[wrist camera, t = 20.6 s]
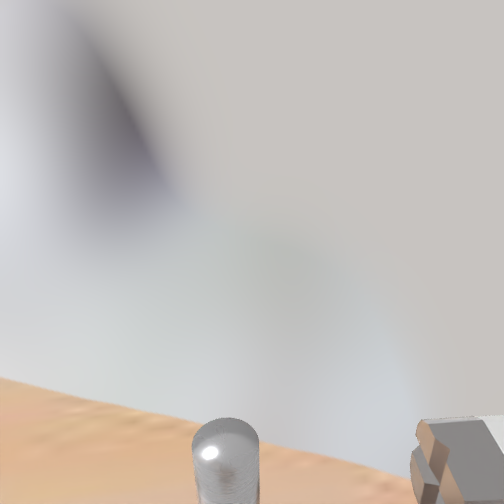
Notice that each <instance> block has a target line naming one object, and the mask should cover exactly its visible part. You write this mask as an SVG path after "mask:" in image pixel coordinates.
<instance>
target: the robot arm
mask: <svg viewBox="0 0 504 504" xmlns="http://www.w3.org/2000/svg"><path fill="white" fill-rule="evenodd" d="M416 437H417V439H418V442H419V444H420V445H419V446H418V447H417V448H416V449H415V450H414V451H412V455H411V462H410V471H411V481H412V486H413V490H414V493H415V496H416V499H417V502H418V504H504V415H497V416H478V417H474V416H471V417H456V418H440V419H424V420H421V421H420V422H419V423H418V426H417V430H416Z"/></svg>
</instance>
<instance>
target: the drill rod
mask: <svg viewBox="0 0 504 504" xmlns="http://www.w3.org/2000/svg"><path fill="white" fill-rule="evenodd" d="M192 455H193V464H194V473H195V482H196V492H197V501H198V504H260V483H259V439H258V435H257V434H256V432H255V430H254V429H253V428H252V427H251V426H250V425H249V424H248V423H246V422H244V421H242V420H239V419H235V418H220V419H216V420H213V421H210V422H208V423H207V424H205V425H204V426H202V427H201V428H200V429H199V430H198V431H197V433H196V434H195V436H194V438H193V442H192Z"/></svg>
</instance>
